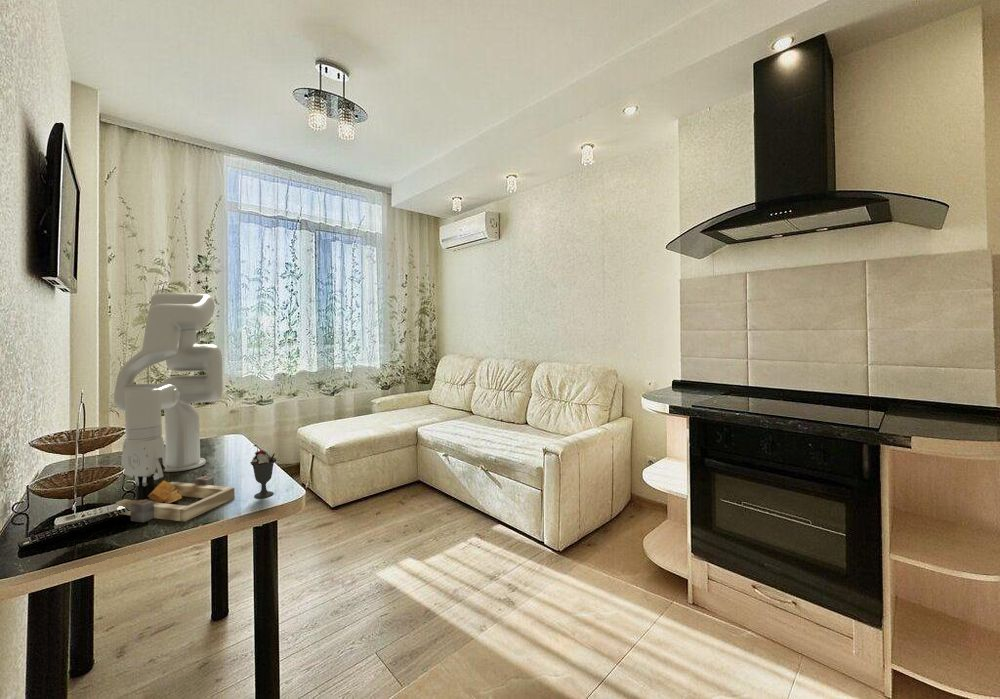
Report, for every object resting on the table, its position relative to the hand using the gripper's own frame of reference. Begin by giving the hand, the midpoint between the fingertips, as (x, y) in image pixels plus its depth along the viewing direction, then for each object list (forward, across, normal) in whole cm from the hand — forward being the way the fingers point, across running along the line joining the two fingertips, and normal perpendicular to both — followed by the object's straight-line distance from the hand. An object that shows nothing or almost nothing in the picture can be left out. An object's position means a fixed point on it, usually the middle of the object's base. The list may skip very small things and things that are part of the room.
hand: (146, 498), depth 115 cm
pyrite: (+1, +6, 0) cm, 6 cm away
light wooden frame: (+1, +10, 0) cm, 10 cm away
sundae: (+1, +28, +11) cm, 30 cm away
